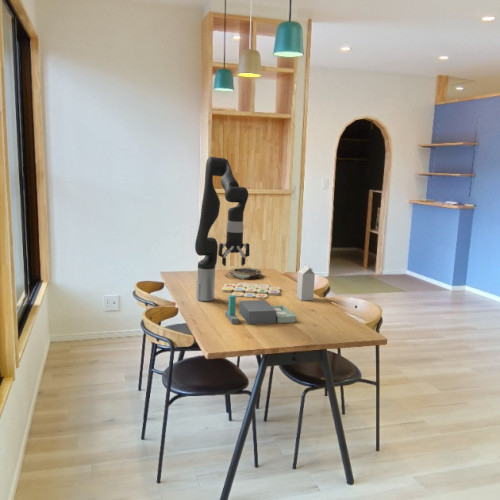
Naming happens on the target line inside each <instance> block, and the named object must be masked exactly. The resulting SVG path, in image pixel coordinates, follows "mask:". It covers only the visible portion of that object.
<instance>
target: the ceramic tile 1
mask: <svg viewBox="0 0 500 500" xmlns="http://www.w3.org/2000/svg"><path fill="white" fill-rule="evenodd" d="M276 314H277V315H278V316H287V314H286V313H285V312H276Z"/></svg>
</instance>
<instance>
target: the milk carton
mask: <svg viewBox="0 0 500 500" xmlns="http://www.w3.org/2000/svg"><path fill="white" fill-rule="evenodd" d="M315 277H316V273H315V272H313V268H312V267H310V266H309V265H307V264H306V263H305V264H304V266H303V267H301V268H300V269H299V270H298V273H297V284H296V285H297V286H296V298H297V299H298V300H300V301H314V294H315V293H314V292H315Z"/></svg>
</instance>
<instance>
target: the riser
mask: <svg viewBox="0 0 500 500" xmlns="http://www.w3.org/2000/svg"><path fill="white" fill-rule="evenodd" d="M238 305H239V306H238V307H239V308H238V313H239V314H240V315H241V317H242V318H243V319H244V321H245V322H246V323H247V324H248V325H258V324H259V325H261V324H265V325H266V324H276V323H277V322H276V310H275V309H274V308H273V307H272V306H273V305H271V304H269V302H267V300H266V299H260V300H259V299H257V300H255V299H254V300H252V299H251V300H239V304H238Z"/></svg>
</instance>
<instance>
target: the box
mask: <svg viewBox="0 0 500 500" xmlns="http://www.w3.org/2000/svg"><path fill="white" fill-rule="evenodd" d="M271 306H272V307H273V308H280V309H281V310H282V312H285V313H286V314H287V316H278V315H277V314H276V323H277V324H283V323H284V324H285V323H287V324H288V323H296V322H297V315H296V314H294V313H293V312H292V311H291V310H290V309H289V308H287V307H286V306H285V305H284V304H282V305H271Z"/></svg>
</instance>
